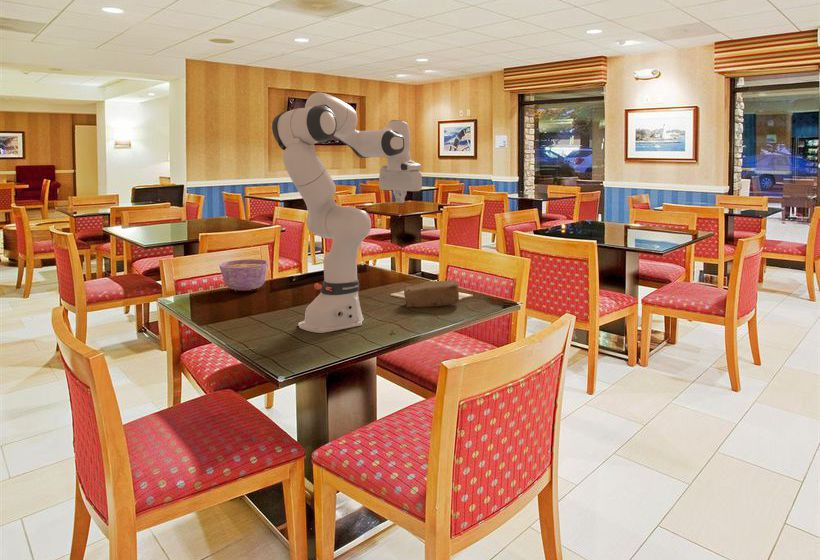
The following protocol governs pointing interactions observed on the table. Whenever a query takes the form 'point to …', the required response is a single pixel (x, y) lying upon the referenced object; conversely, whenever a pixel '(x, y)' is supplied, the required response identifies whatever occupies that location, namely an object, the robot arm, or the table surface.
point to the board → (401, 295)
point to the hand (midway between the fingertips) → (400, 202)
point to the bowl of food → (244, 273)
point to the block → (432, 294)
